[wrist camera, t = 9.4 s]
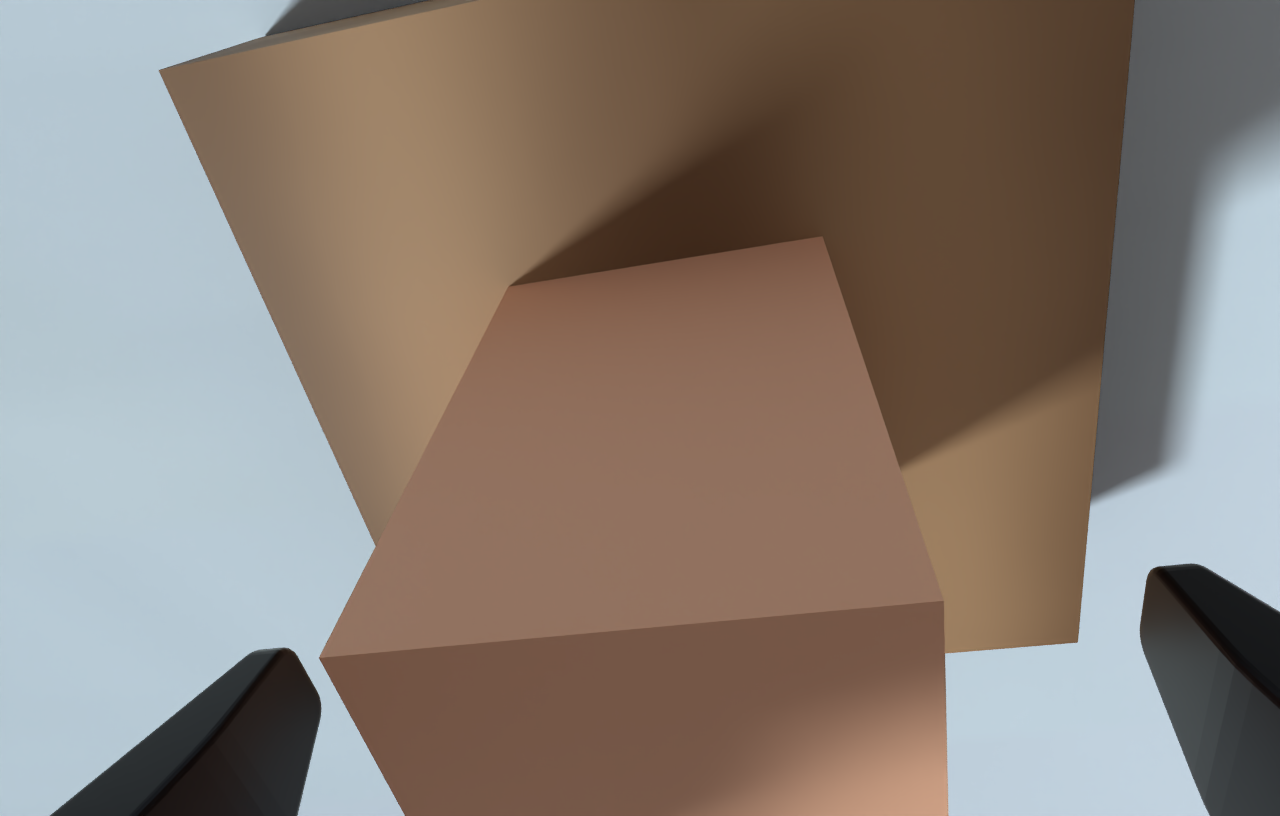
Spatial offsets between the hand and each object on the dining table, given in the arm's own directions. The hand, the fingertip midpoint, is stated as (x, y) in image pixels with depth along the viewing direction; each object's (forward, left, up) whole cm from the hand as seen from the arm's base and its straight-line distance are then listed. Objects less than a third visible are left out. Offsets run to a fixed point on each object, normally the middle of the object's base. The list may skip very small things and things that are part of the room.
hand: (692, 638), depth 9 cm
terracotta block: (0, 0, -5) cm, 5 cm away
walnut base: (0, 0, -8) cm, 8 cm away
